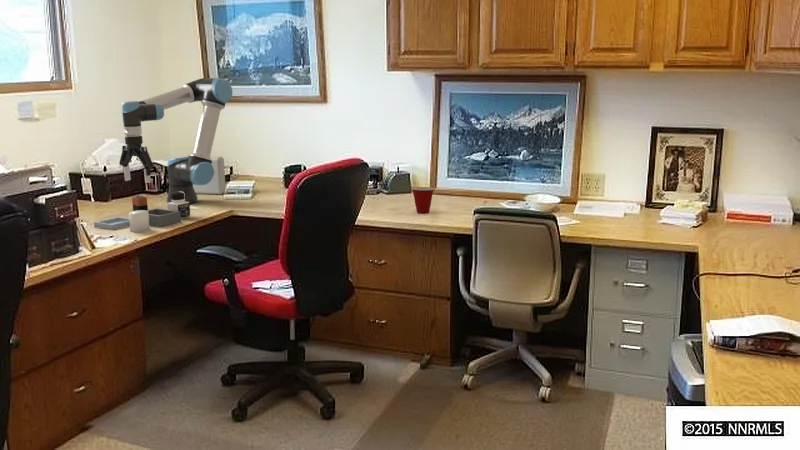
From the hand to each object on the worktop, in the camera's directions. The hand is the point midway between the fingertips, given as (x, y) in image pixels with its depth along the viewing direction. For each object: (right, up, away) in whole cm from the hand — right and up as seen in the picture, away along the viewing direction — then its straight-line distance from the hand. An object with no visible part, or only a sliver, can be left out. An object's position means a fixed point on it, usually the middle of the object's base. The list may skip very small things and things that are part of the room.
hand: (137, 181), depth 350 cm
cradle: (+13, -19, -11) cm, 26 cm away
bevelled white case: (+16, -3, +62) cm, 64 cm away
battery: (0, -16, +4) cm, 17 cm away
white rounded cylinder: (+9, -22, -24) cm, 34 cm away
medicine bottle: (+19, -17, +1) cm, 25 cm away
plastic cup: (+132, -14, +5) cm, 133 cm away
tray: (-5, -20, -15) cm, 26 cm away
